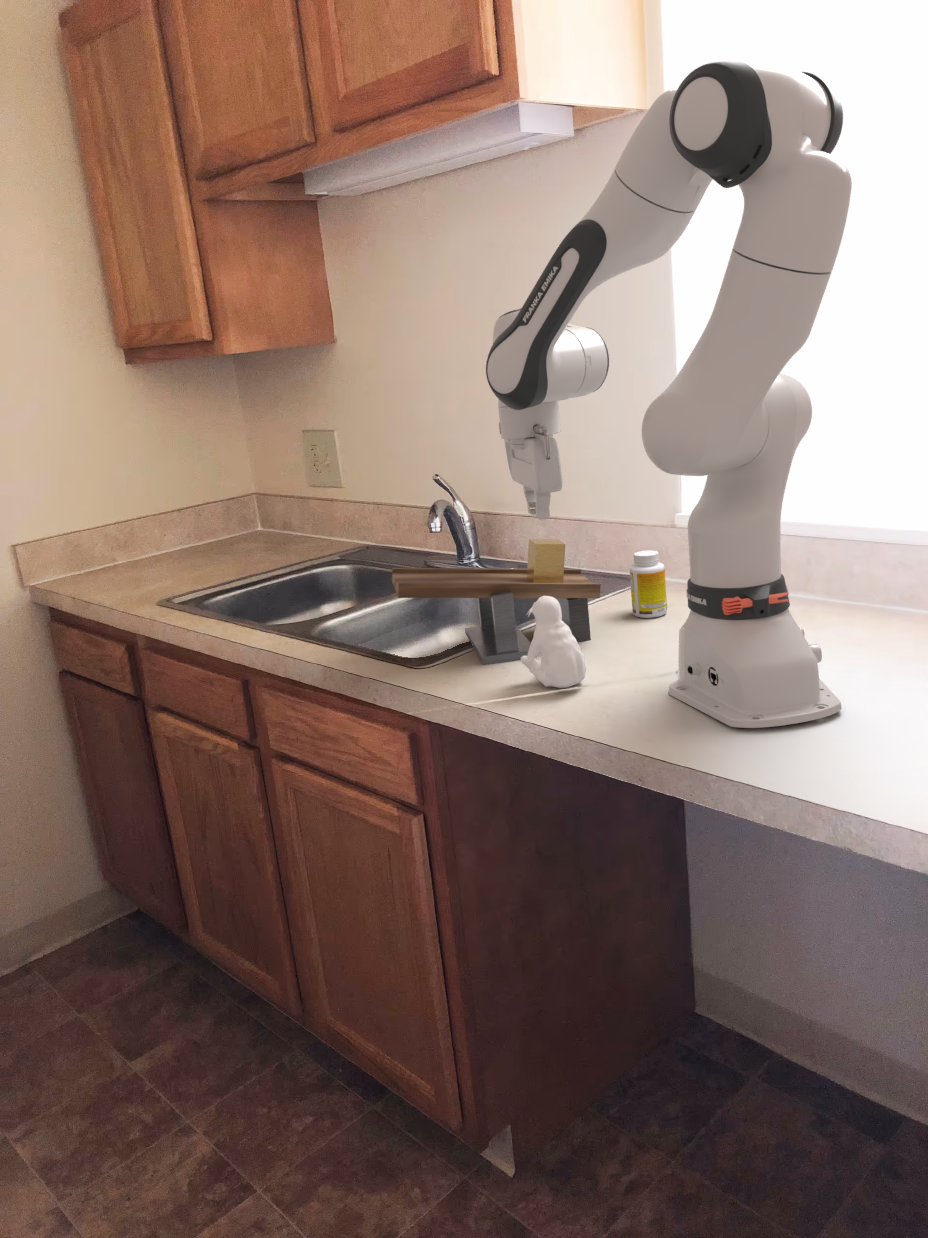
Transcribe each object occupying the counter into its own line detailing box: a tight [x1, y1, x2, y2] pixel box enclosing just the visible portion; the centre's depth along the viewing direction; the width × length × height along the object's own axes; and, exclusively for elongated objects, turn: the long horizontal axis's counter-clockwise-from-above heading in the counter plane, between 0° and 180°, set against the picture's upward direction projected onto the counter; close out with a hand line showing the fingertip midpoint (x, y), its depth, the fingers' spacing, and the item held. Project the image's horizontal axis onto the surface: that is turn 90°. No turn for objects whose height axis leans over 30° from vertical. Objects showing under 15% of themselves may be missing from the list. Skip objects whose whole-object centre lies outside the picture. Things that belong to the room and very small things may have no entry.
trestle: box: [464, 591, 592, 666], centre depth 154 cm, size 17×18×10 cm
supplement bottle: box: [629, 549, 668, 619], centre depth 162 cm, size 6×6×10 cm
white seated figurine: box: [520, 596, 587, 689], centre depth 134 cm, size 6×8×12 cm
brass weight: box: [526, 538, 566, 583], centre depth 153 cm, size 5×5×6 cm
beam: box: [391, 567, 601, 599], centre depth 153 cm, size 12×30×3 cm, turn 99°
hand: (539, 516), depth 151 cm, fingers open, 4 cm apart
